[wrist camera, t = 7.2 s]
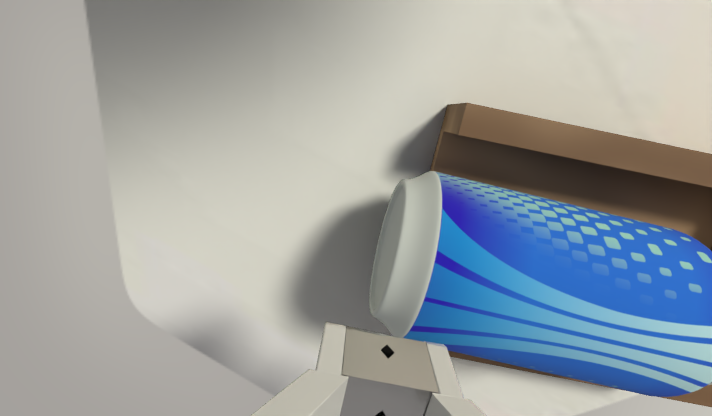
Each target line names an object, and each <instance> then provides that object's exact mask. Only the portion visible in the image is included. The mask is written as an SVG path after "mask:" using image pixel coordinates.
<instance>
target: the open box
mask: <svg viewBox="0 0 712 416" xmlns="http://www.w3.org/2000/svg"><path fill="white" fill-rule="evenodd" d="M430 171H435V172H439V173H443V174H448V175H452V176H456V177H460V178H464V179H468V180H472V181H476V182H481V183H485V184H489V185H493V186H497V187H501V188H505V189H510V190H514V191H518V192H522V193H526V194H530V195H534V196H539V197H543V198H547V199H551V200H555V201H559V202H563V203H567V204H572V205H576V206H580V207H584V208H588V209H592V210H596V211H601V212H605V213H609V214H613V215H617V216H621V217H625V218H630V219H634V220H638V221H642V222H646V223H650V224H654V225H658V226H663V227H667V228H671V229H674V230H677V231H680V232H682V233H685V234H687V235H689V236H691V237H693V238H695V239H696V240H698V241H699V242H701V243H702V244H703V245H705V246H706V247H707V248H709V249H710V250H711V251H712V154H708V153H703V152H699V151H694V150H689V149H684V148H680V147H675V146H670V145H665V144H661V143H656V142H651V141H646V140H642V139H637V138H632V137H627V136H623V135H618V134H613V133H608V132H604V131H599V130H594V129H589V128H584V127H580V126H575V125H570V124H565V123H561V122H556V121H551V120H546V119H542V118H537V117H532V116H527V115H523V114H518V113H513V112H508V111H504V110H499V109H494V108H489V107H485V106H480V105H475V104H470V103H460V104H450V105H447V109H446V113H445V116H444V120H443V124H442V128H441V131H440V135H439V139H438V143H437V146H436V150H435V154H434V158H433V161H432V165H431V169H430ZM448 353H449V356H450V357H456V358H461V359H466V360H471V361H476V362H481V363H486V364H492V365H497V366H502V367H507V368H512V369H517V370H523V371H528V372H533V373H538V374H543V375H548V376H554V377H559V378H564V379H569V380H574V381H579V382H584V383H590V384H595V383H591V382H586V381H582V380H577V379H573V378H569V377H564V376H560V375H555V374H551V373H546V372H542V371H537V370H533V369H529V368H524V367H520V366H515V365H511V364H506V363H502V362H497V361H493V360H489V359H484V358H480V357H475V356H471V355H466V354H462V353H457V352H453V351H449V350H448ZM595 385H600V384H595ZM600 386H604V385H600ZM605 387H608V386H605ZM610 388H613V387H610ZM615 389H617V388H615ZM621 390H622V389H621ZM662 398H667V399H672V400H677V401H682V402H688V403H693V404H698V405H704V406H708V407H712V385H707V386H705V387H703V388H701V389H699V390H697V391H694V392H691V393H688V394H684V395H680V396H673V397H662Z"/></svg>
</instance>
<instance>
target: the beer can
mask: <svg viewBox="0 0 712 416" xmlns="http://www.w3.org/2000/svg"><path fill="white" fill-rule="evenodd" d="M369 308H370V313H371V315H372V316H373V317H375V318H376V319H378V320H379V321H381V322H382V323H383V324H384V325H385V326H386V328H387V329H388V330H389V332H390V333H391V335H392V336H395V337H401V338H406V339H411V340H417V341H422V342H424V341H426V342H432V343H439V344H444V345H445V346H446V347H447V350H449V351H453V352H457V353H462V354H466V355H471V356H475V357H480V358H484V359H489V360H493V361H497V362H502V363H506V364H511V365H515V366H520V367H524V368H529V369H533V370H537V371H542V372H546V373H551V374H555V375H560V376H564V377H569V378H573V379H577V380H582V381H586V382H591V383H595V384H600V385H604V386H608V387H613V388H617V389H622V390H626V391H631V392H635V393H640V394H644V395H649V396H657V397H673V396H680V395H684V394H688V393H691V392H694V391H697V390H699V389H701V388H703V387H705V386H707V385H712V251H711V250H710V249H709V248H707V247H706V246H705V245H703V244H702V243H701V242H699V241H698V240H696V239H695V238H693V237H691V236H689V235H687V234H685V233H682V232H680V231H677V230H674V229H671V228H667V227H663V226H658V225H654V224H650V223H646V222H642V221H638V220H634V219H630V218H625V217H621V216H617V215H613V214H609V213H605V212H601V211H596V210H592V209H588V208H584V207H580V206H576V205H572V204H567V203H563V202H559V201H555V200H551V199H547V198H543V197H539V196H534V195H530V194H526V193H522V192H518V191H514V190H510V189H505V188H501V187H497V186H493V185H489V184H485V183H481V182H476V181H472V180H468V179H464V178H460V177H456V176H452V175H448V174H443V173H439V172H435V171H428V172H426V173H424V174H422V175H420V176H418V177H415V178H412V179H403V180H401V181H400V182H399V183H398V184H397V186H396V188H395V190H394V192H393V194H392V196H391V199H390V202H389V204H388V207H387V210H386V214H385V217H384V220H383V224H382V228H381V231H380V235H379V240H378V244H377V248H376V253H375V258H374V264H373V269H372V276H371V283H370V294H369Z"/></svg>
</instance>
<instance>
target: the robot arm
mask: <svg viewBox="0 0 712 416" xmlns="http://www.w3.org/2000/svg"><path fill="white" fill-rule="evenodd" d="M251 416H486V415H485V414H484V413H483V412H482V411H481V410H480V409H479V408H478V407H477V406H476V405H475V404H474V403H473V402H472V401H471V400H468V399H464V396H463V393H462V390H461V387H460V385H459V382H458V379H457V376H456V373H455V370H454V367H453V364H452V361H451V358H450V356H449V353H448V350H447V347H446V346H445V345H444V344H439V343H432V342H426V341H424V342H422V341H417V340H411V339H406V338H401V337H395V336H390V335H385V334H382V333H377V332H372V331H368V330H363V329H359V328H354V327H349V326H346V327H345V325H339V324H334V323H329V322H326V323H325V326H324V331H323V336H322V341H321V345H320V350H319V355H318V360H317V365H316V370H310V369H309V370H308V371H306V372H305V373H304V374H302V375H301V376H300V377H299V378H297V379H296V380H295V381H294V382H292V383H291V384H290V385H289V386H287V387H286V388H285V389H283V390H282V391H281V392H280V393H278V394H277V395H276V396H275V397H273V398H272V399H271V400H270V401H268V402H267V403H266V404H265V405H263V406H262V407H261V408H259V409H258V410H257V411H256V412H255V413H253V414H252V415H251Z"/></svg>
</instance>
